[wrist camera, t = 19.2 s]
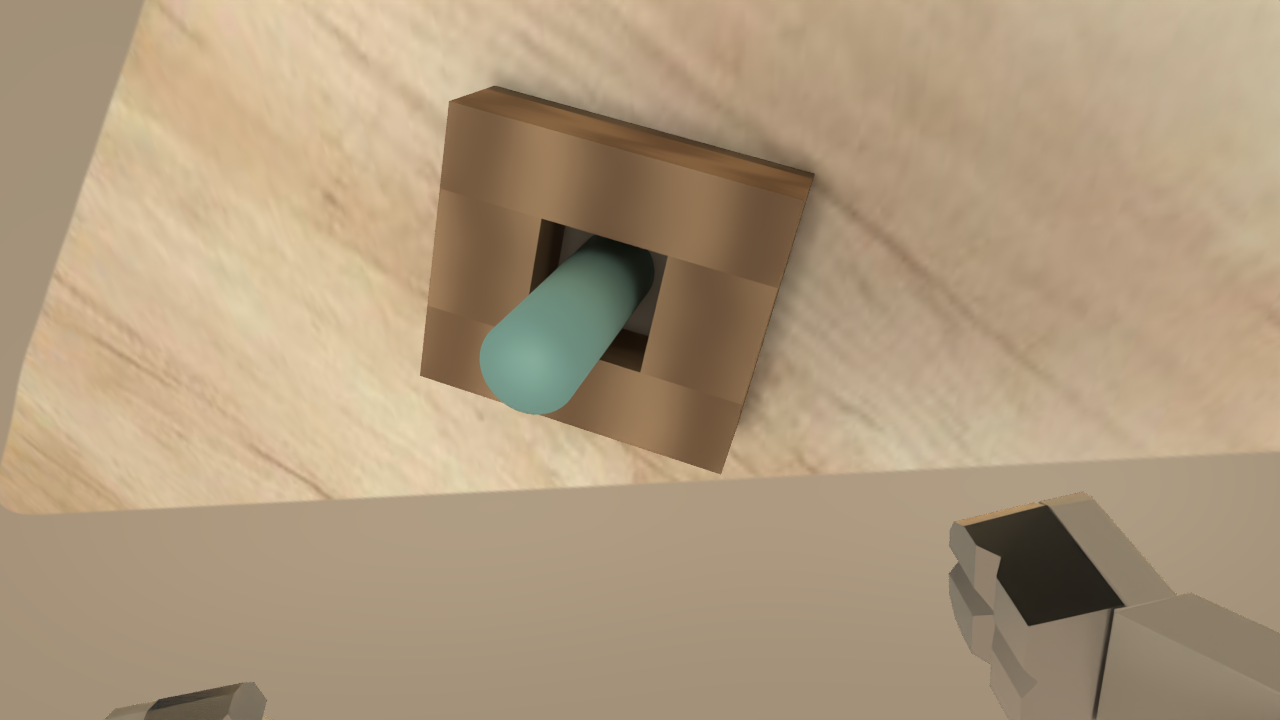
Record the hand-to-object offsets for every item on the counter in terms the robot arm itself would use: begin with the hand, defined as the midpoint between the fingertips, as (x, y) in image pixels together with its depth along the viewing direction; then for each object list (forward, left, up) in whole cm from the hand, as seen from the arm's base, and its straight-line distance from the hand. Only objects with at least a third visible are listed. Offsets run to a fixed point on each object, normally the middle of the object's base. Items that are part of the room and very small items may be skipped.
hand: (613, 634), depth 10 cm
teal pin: (+8, +9, -33) cm, 35 cm away
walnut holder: (+8, +9, -34) cm, 36 cm away
